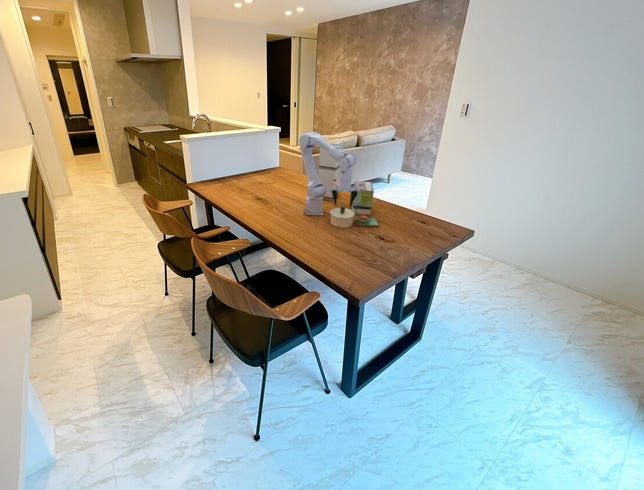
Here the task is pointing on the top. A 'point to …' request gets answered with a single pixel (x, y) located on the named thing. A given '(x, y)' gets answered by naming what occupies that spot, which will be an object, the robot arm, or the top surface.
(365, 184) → the tea box
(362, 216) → the button
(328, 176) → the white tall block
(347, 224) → the tin
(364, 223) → the release base
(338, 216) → the tin lid
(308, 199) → the robot arm
